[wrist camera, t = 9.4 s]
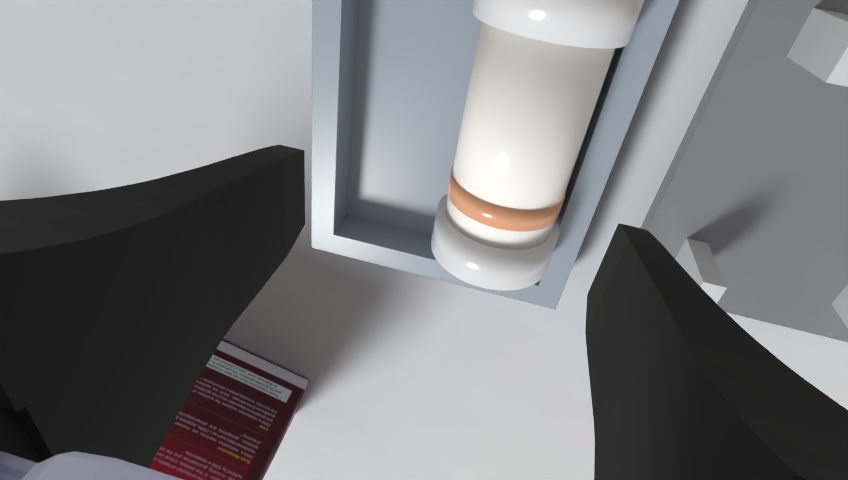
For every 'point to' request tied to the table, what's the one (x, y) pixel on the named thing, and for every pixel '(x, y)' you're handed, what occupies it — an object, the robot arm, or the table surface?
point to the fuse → (524, 133)
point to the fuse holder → (768, 172)
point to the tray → (435, 130)
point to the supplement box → (231, 419)
